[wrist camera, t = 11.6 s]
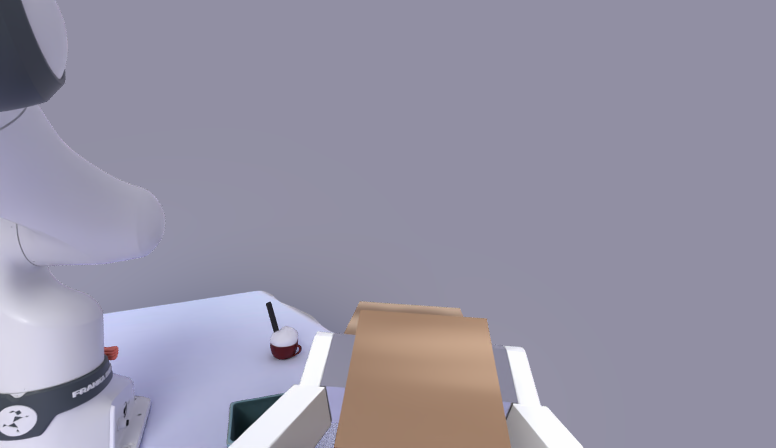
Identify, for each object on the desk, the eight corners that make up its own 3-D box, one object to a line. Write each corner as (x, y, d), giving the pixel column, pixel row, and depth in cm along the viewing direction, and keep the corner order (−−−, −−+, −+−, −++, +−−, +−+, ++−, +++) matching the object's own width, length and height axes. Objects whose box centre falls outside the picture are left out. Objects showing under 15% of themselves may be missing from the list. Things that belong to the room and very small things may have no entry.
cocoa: (304, 359, 80) (309, 310, 79) (280, 367, 75) (285, 315, 74) (283, 344, 86) (287, 298, 85) (259, 351, 82) (263, 302, 81)
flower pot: (229, 460, 49) (230, 401, 48) (292, 446, 52) (294, 390, 52) (225, 514, 41) (226, 444, 40) (300, 493, 44) (302, 428, 44)
